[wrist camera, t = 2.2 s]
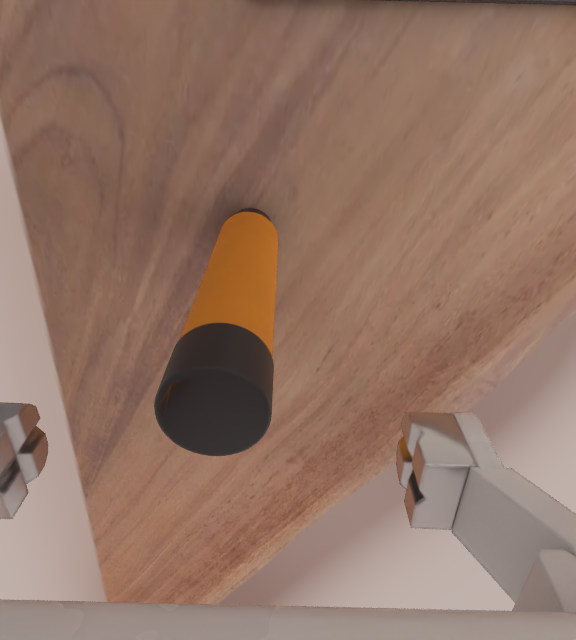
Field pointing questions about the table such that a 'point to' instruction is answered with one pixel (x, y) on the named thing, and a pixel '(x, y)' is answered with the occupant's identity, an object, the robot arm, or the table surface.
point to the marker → (226, 346)
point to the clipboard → (507, 1)
